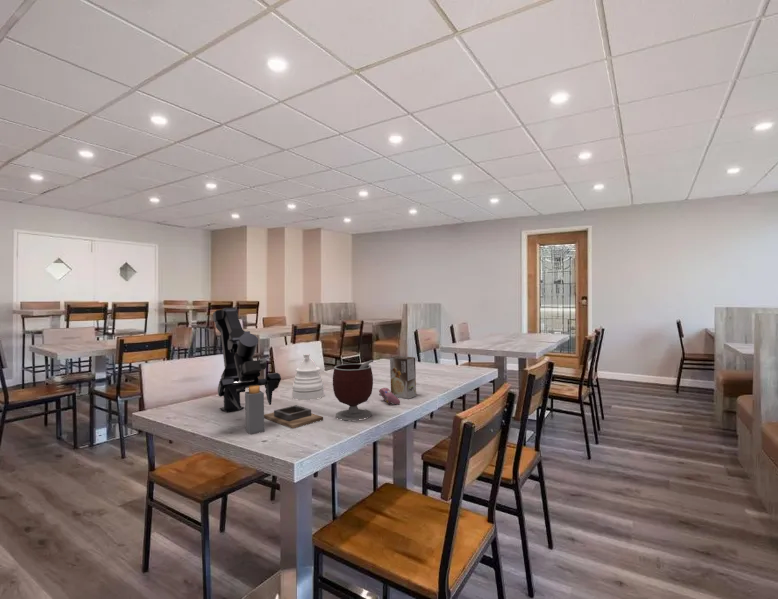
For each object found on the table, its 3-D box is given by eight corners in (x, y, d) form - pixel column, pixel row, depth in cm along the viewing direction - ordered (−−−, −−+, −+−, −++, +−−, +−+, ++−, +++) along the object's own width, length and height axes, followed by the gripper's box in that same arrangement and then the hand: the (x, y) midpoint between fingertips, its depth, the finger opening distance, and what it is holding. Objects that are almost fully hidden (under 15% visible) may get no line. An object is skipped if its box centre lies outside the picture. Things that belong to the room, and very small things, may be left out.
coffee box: (417, 396, 168) (416, 357, 168) (408, 399, 163) (407, 359, 163) (399, 393, 174) (398, 355, 174) (389, 396, 169) (389, 357, 169)
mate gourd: (324, 417, 140) (323, 359, 139) (350, 408, 151) (349, 354, 151) (360, 425, 131) (359, 362, 131) (385, 414, 142) (384, 357, 142)
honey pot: (320, 400, 164) (319, 355, 163) (288, 400, 164) (288, 356, 164) (326, 393, 176) (325, 351, 176) (296, 393, 177) (296, 351, 177)
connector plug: (245, 430, 127) (244, 385, 127) (260, 427, 130) (259, 383, 130) (249, 434, 124) (248, 388, 124) (264, 431, 126) (263, 386, 126)
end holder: (263, 417, 141) (263, 409, 141) (292, 410, 150) (292, 402, 150) (292, 428, 128) (292, 419, 128) (323, 419, 137) (323, 410, 137)
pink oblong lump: (382, 403, 163) (375, 388, 162) (392, 397, 164) (384, 382, 163) (391, 409, 154) (383, 394, 153) (401, 403, 155) (393, 387, 154)
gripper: (218, 353, 125) (227, 396, 116) (278, 348, 135) (291, 387, 126) (214, 375, 131) (222, 417, 122) (271, 368, 142) (282, 407, 133)
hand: (255, 406), depth 126 cm, fingers open, 9 cm apart
